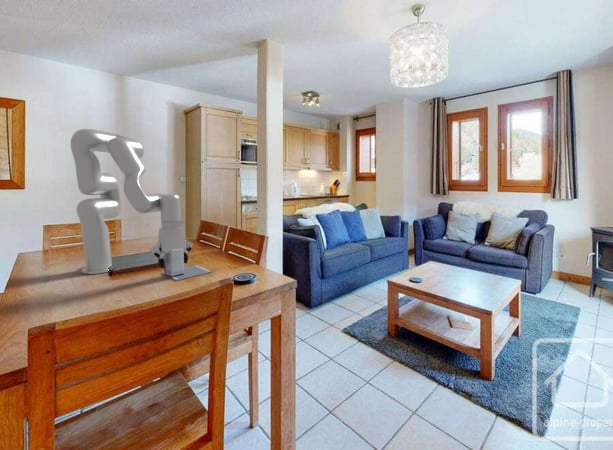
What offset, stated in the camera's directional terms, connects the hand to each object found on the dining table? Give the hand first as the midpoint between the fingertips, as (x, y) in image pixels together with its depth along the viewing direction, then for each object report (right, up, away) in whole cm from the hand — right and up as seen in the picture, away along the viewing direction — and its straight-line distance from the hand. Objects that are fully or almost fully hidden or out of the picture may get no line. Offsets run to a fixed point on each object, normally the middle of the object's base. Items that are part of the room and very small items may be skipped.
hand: (173, 265), depth 126 cm
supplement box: (0, -4, +1) cm, 4 cm away
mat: (+4, -4, +5) cm, 7 cm away
